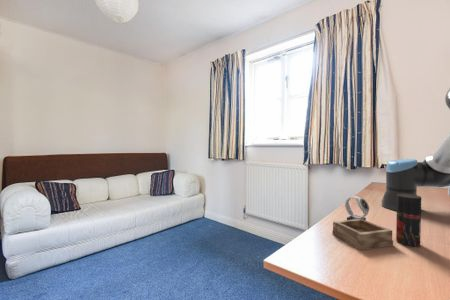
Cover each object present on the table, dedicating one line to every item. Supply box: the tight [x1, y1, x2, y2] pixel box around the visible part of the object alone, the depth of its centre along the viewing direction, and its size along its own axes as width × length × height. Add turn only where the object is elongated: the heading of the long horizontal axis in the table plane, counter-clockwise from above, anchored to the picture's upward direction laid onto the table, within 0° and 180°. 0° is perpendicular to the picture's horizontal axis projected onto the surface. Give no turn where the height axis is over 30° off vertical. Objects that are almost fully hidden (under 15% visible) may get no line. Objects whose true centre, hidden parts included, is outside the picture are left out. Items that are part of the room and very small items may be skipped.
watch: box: [344, 195, 370, 221], centre depth 86 cm, size 6×8×11 cm
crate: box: [331, 219, 394, 251], centre depth 74 cm, size 12×12×4 cm
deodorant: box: [395, 194, 422, 248], centre depth 71 cm, size 6×6×15 cm
